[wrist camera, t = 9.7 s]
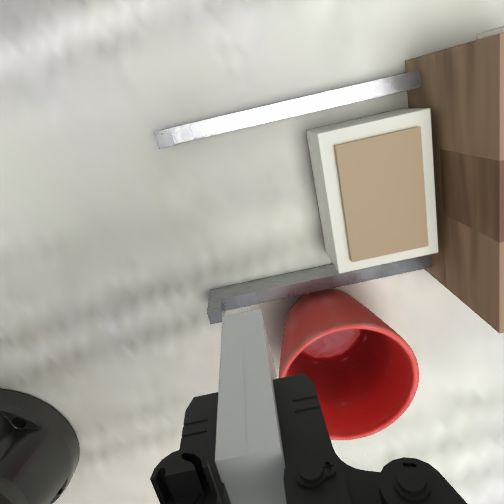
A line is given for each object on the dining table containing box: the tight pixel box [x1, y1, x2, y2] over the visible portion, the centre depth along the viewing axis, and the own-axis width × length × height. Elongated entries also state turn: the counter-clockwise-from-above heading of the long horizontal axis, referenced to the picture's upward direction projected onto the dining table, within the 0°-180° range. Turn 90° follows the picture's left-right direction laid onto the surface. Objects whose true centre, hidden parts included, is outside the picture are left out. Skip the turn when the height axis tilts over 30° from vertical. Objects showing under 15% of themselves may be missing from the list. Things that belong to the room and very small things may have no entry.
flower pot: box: [279, 289, 419, 440], centre depth 35 cm, size 11×11×10 cm
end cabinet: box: [405, 26, 504, 333], centre depth 28 cm, size 8×18×12 cm, turn 12°
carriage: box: [306, 108, 438, 274], centre depth 32 cm, size 8×11×6 cm
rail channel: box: [154, 70, 432, 324], centre depth 33 cm, size 20×16×4 cm
